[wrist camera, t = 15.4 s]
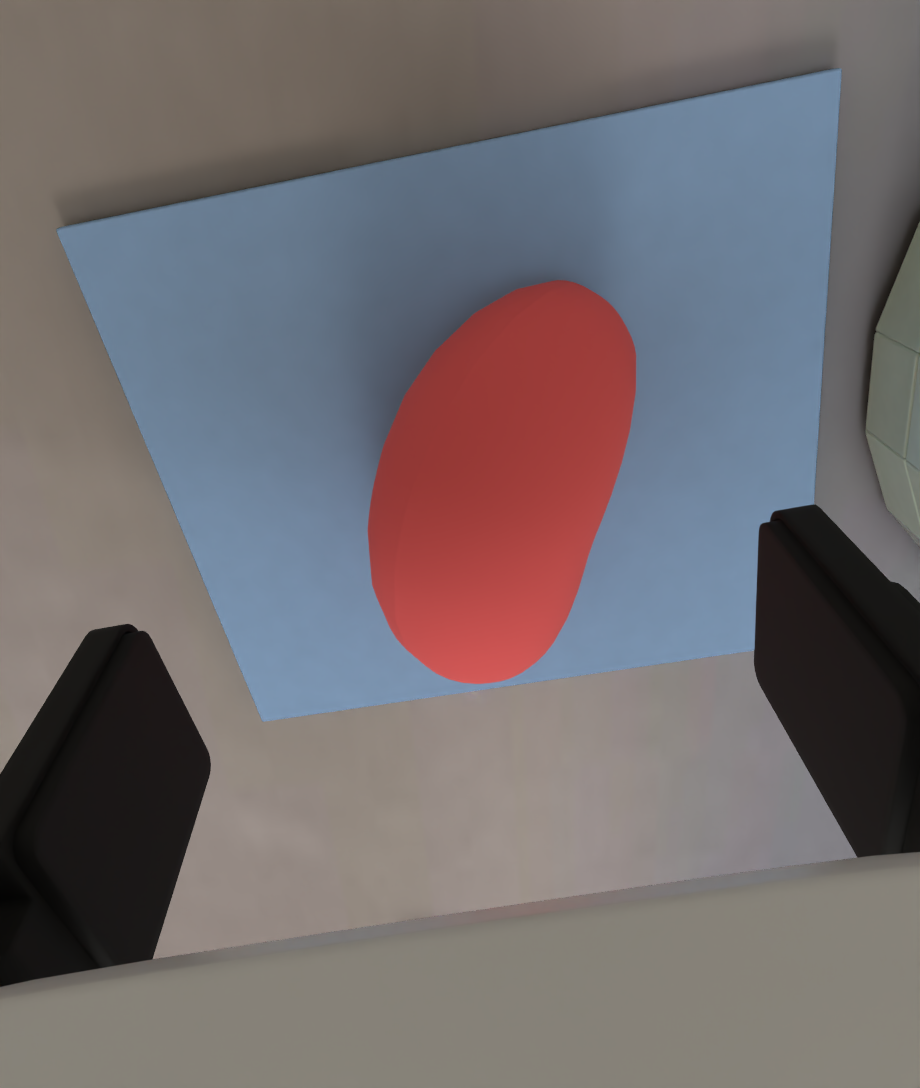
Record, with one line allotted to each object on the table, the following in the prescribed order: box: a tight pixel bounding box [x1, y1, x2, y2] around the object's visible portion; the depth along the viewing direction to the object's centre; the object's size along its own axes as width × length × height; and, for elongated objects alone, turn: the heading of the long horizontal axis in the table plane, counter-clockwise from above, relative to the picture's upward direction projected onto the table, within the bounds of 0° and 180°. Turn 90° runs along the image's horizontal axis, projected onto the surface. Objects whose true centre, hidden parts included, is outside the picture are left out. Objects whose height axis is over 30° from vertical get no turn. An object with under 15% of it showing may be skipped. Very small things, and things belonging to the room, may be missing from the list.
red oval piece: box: [368, 280, 636, 684], centre depth 16 cm, size 5×9×6 cm, turn 157°
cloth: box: [56, 68, 842, 722], centre depth 19 cm, size 14×16×1 cm
